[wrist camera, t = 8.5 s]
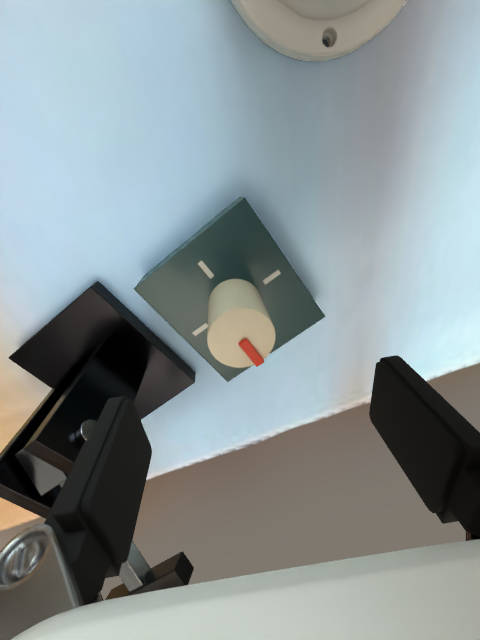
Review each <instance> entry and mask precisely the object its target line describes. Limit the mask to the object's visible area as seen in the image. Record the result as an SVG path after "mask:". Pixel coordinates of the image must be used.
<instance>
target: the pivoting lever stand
mask: <svg viewBox="0 0 480 640" xmlns="http://www.w3.org/2000/svg"><path fill="white" fill-rule="evenodd" d="M9 359H10V360H12V361H13V362H15V363H16V364H18V365H19V366H20V367H22V368H23V369H25V370H26V371H28V372H29V373H31V374H32V375H33V376H35V377H36V378H38V379H39V380H41V381H42V382H44V383H45V384H46V385H48V386H49V387H51V388H52V390H51V391H50V392H49V393H48V395H47V396H46V397H45V398H44V400H43V401H42V402H41V403H40V405H39V406H38V407H37V408H36V410H35V411H34V412H33V413H32V415H31V416H30V417H29V418H28V420H27V421H26V422H25V423H24V425H23V426H22V427H21V428H20V430H19V431H18V432H17V433H16V435H15V436H14V437H13V438H12V440H11V441H10V442H9V443H8V445H7V446H6V447H5V448H4V450H3V451H2V452H1V453H0V497H1V498H3V499H5V500H7V501H10V502H12V503H14V504H16V505H18V506H20V507H22V508H24V509H26V510H29V511H31V512H33V513H35V514H37V515H39V516H41V517H43V518H46V519H47V517H48V515H49V513H50V511H51V509H52V507H53V505H54V503H55V501H56V499H57V497H58V494H59V492H60V490H61V487H60V485H59V484H58V485H57V486H56V487H54V488H53V489H51V490H50V491H48V492H47V493H45V494H44V495H42V496H41V495H40V493H39V492H38V490H37V489H36V487H35V485H34V484H33V482H32V481H31V479H30V478H29V476H28V475H27V473H26V472H25V470H24V469H23V467H22V465H21V464H20V462H19V461H18V459H17V458H16V456H15V455H16V454H17V453H18V452H20V451H21V450H22V449H23V450H25V451H27V452H28V453H30V454H32V455H34V456H36V457H37V458H39V459H41V460H43V461H44V462H46V463H48V464H50V465H51V466H53V467H55V468H57V469H59V470H60V471H62V472H64V473H66V474H67V475H68V474H69V472H70V470H71V468H72V466H73V464H74V462H75V460H76V458H77V456H78V454H79V452H80V450H81V448H82V446H83V444H84V443H85V441H86V440H87V439H89V437H90V435H91V433H92V431H93V429H94V427H95V425H96V423H97V421H98V419H99V417H100V415H101V412H102V410H103V408H104V406H105V404H106V402H107V401H108V399H110V398H115V397H122V396H126V397H127V398H128V399H131V400H132V401H133V403H134V405H135V408H136V410H137V413H138V415H139V418H140V420H141V419H142V418H144V417H145V416H147V415H148V414H150V413H151V412H153V411H154V410H155V409H157V408H158V407H160V406H161V405H163V404H164V403H166V402H167V401H168V400H170V399H171V398H173V397H174V396H176V395H177V394H179V393H180V392H181V391H183V390H184V389H186V388H187V387H189V386H190V385H192V384H193V383H194V382H195V375H196V373H195V372H194V371H193V370H192V369H191V368H190V367H189V366H188V365H187V364H186V363H185V362H184V361H182V360H181V359H180V358H179V357H178V356H177V355H176V354H175V353H174V352H173V351H172V350H171V349H170V348H169V347H168V346H167V345H165V344H164V343H163V342H162V341H161V340H160V339H159V338H158V337H157V336H156V335H155V334H154V333H153V332H152V331H151V330H150V329H148V328H147V327H146V326H145V325H144V324H143V323H142V322H141V321H140V320H139V319H138V318H137V317H136V316H135V315H134V314H133V313H131V312H130V311H129V310H128V309H127V308H126V307H125V306H124V305H123V304H122V303H121V302H120V301H119V300H118V299H117V298H116V297H114V296H113V295H112V294H111V293H110V292H109V291H108V290H107V289H106V288H105V287H104V286H103V285H102V284H101V283H100V282H98V281H97V282H96V283H94V284H93V285H92V286H91V287H90V288H88V289H87V290H86V291H85V292H84V293H83V294H81V295H80V296H79V297H78V298H77V299H76V300H75V301H73V302H72V303H71V304H70V305H69V306H68V307H66V308H65V309H64V310H63V311H62V312H61V313H59V314H58V315H57V316H56V317H55V318H54V319H53V320H51V321H50V322H49V323H48V324H47V325H46V326H44V327H43V328H42V329H41V330H40V331H39V332H37V333H36V334H35V335H34V336H33V337H32V338H31V339H29V340H28V341H27V342H26V343H25V344H24V345H22V346H21V347H20V348H19V349H18V350H17V351H16V352H14V353H13V354H12V355H11V356H10V357H9Z"/></svg>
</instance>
